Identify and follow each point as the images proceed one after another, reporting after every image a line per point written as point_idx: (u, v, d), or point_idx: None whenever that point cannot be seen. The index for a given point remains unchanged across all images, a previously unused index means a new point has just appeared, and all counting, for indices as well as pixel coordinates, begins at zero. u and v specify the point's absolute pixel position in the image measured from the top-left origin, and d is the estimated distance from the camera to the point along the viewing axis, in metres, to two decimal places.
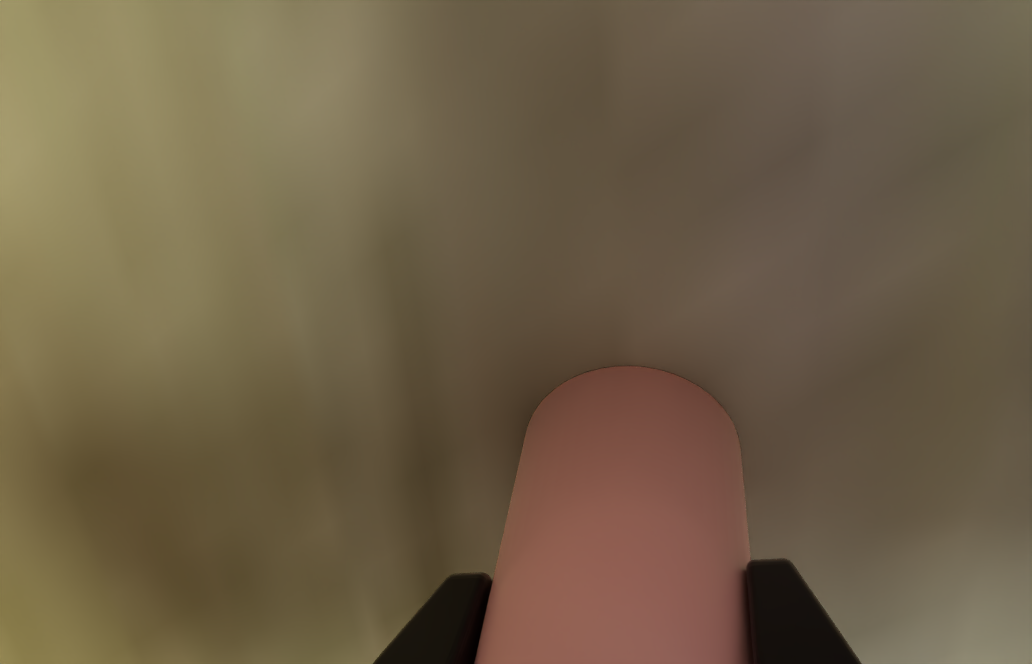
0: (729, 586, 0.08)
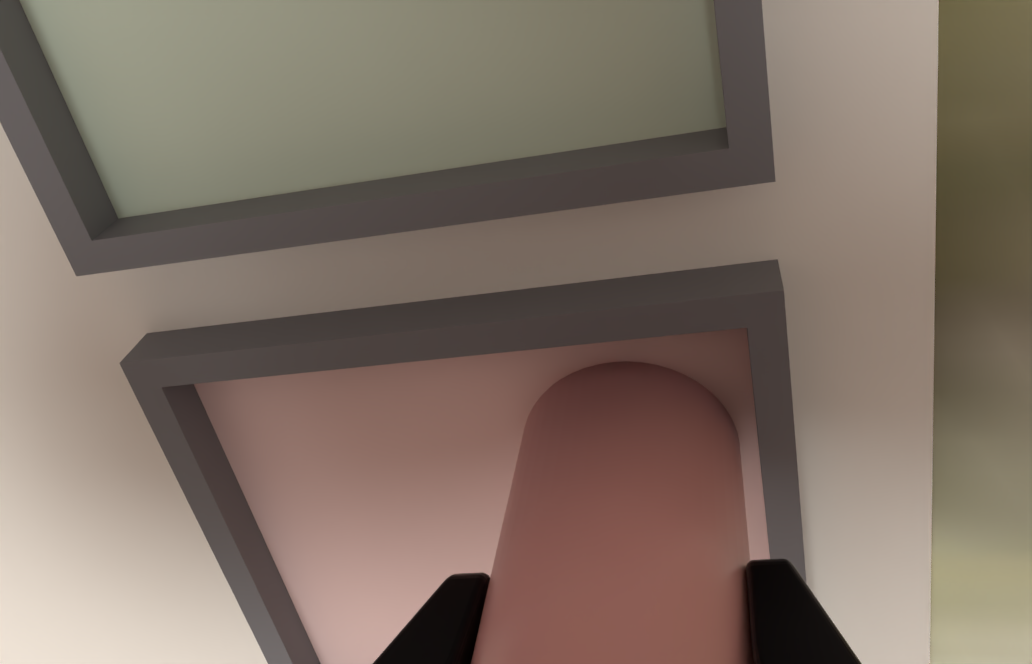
0: (728, 581, 0.08)
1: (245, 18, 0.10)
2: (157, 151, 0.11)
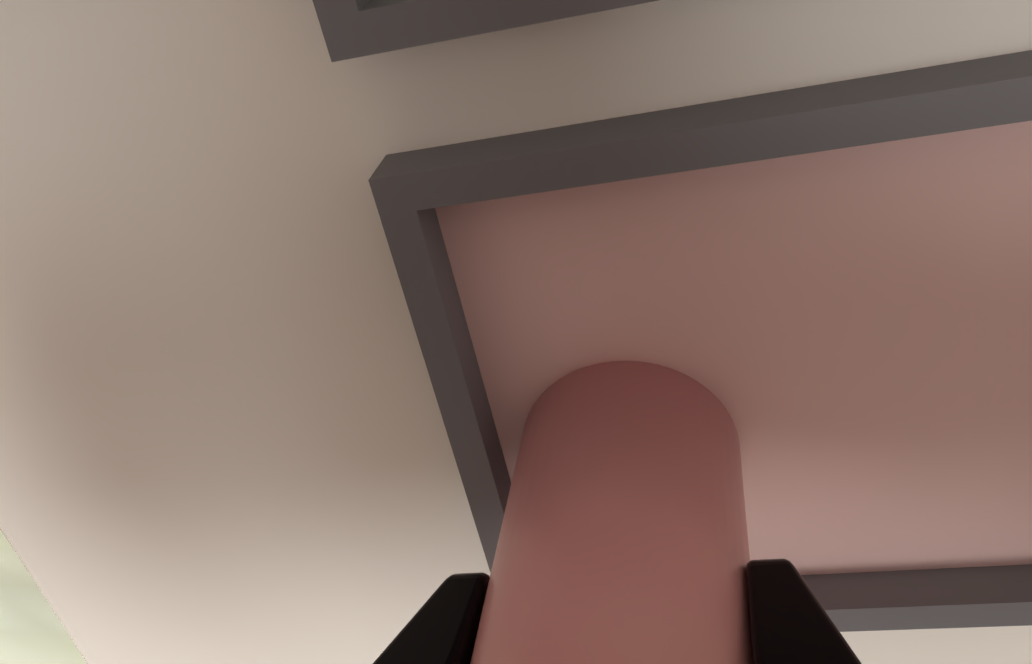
0: (728, 580, 0.08)
1: None
2: None
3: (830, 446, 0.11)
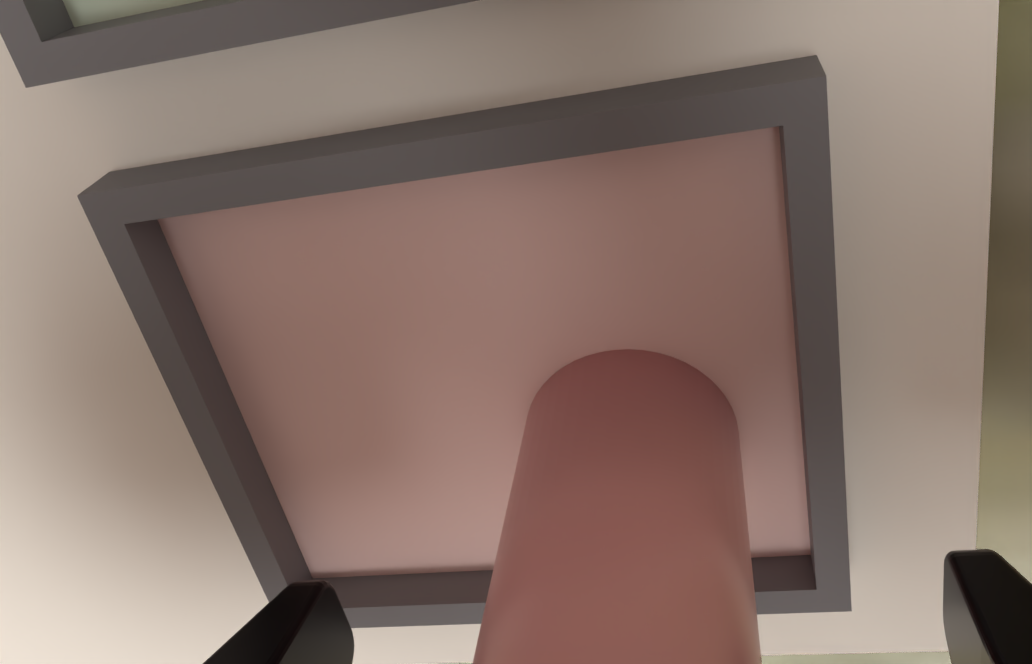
0: (728, 558, 0.09)
1: None
2: None
3: None
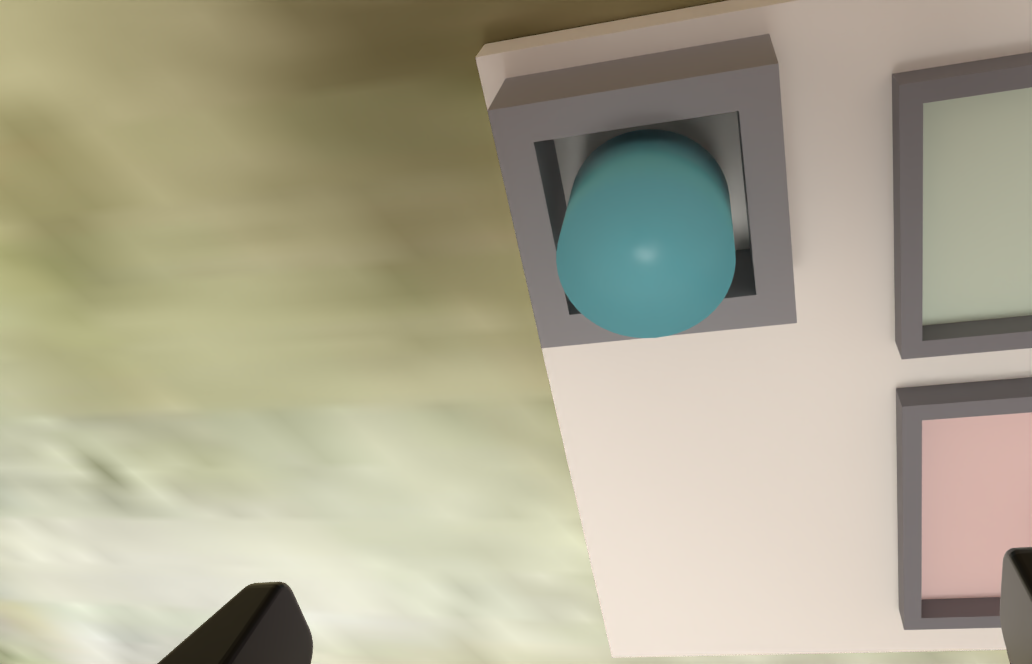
0: None
1: None
2: (955, 291, 0.19)
3: None
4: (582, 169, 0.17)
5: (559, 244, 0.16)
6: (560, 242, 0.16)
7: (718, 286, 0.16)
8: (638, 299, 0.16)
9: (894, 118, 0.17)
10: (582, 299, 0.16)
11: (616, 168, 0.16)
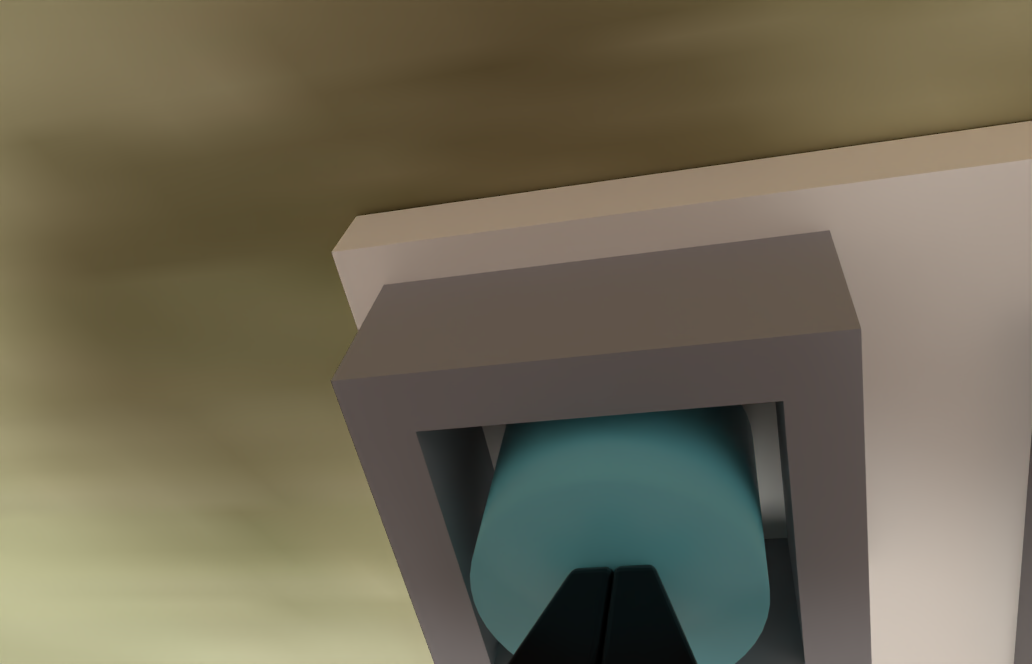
0: None
1: None
2: None
3: None
4: None
5: (474, 565, 0.10)
6: (476, 562, 0.10)
7: (740, 634, 0.10)
8: None
9: None
10: (516, 639, 0.10)
11: (568, 441, 0.09)
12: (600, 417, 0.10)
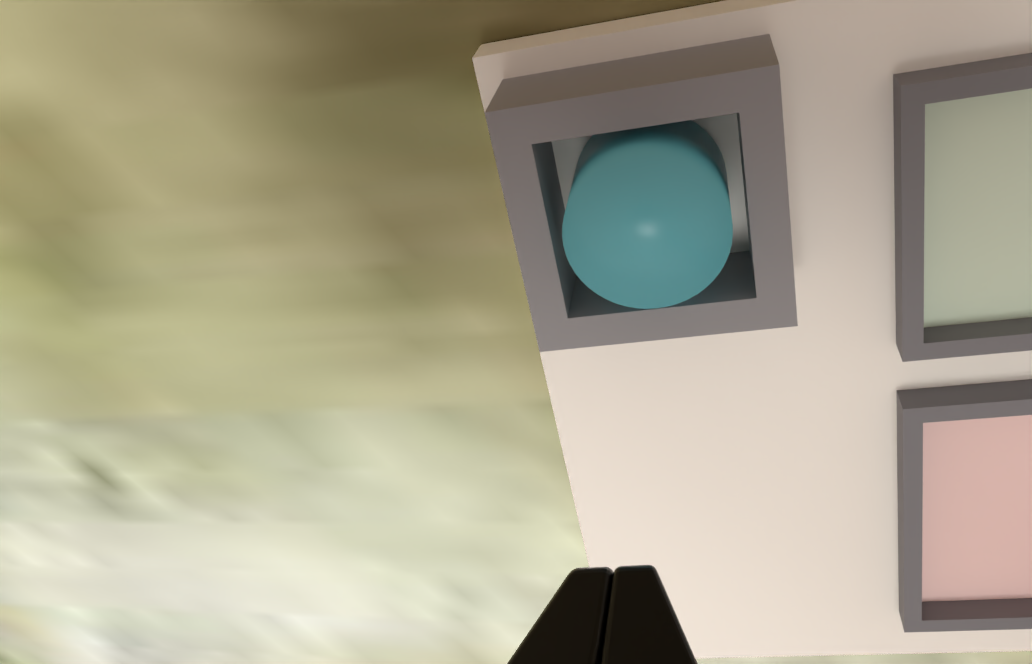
0: None
1: None
2: (956, 293, 0.19)
3: None
4: (586, 148, 0.18)
5: (565, 219, 0.17)
6: (566, 217, 0.17)
7: (716, 258, 0.17)
8: (640, 271, 0.17)
9: (895, 119, 0.17)
10: (587, 272, 0.17)
11: (619, 146, 0.17)
12: (637, 136, 0.17)
